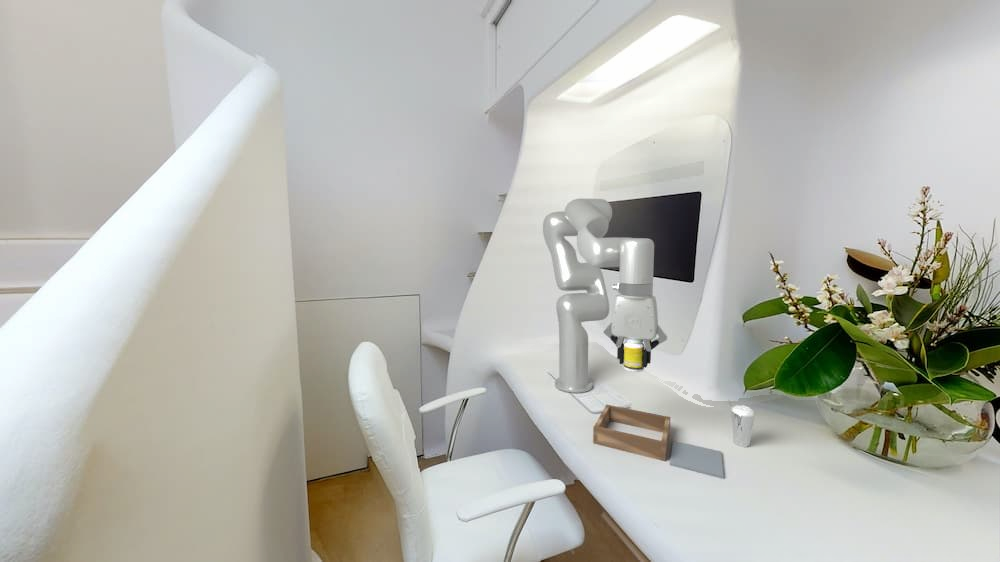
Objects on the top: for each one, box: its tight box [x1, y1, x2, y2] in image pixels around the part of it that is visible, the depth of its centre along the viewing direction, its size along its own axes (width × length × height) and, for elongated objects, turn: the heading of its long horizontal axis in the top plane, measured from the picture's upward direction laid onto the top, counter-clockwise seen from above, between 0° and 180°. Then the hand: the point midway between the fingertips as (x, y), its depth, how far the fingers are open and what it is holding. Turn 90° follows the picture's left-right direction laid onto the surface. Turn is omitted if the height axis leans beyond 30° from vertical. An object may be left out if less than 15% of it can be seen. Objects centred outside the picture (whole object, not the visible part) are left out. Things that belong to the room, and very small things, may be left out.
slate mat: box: [669, 440, 725, 479], centre depth 81 cm, size 10×10×1 cm
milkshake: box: [727, 399, 756, 448], centre depth 87 cm, size 5×5×10 cm
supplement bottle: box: [623, 338, 645, 373], centre depth 88 cm, size 5×5×8 cm
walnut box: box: [592, 404, 671, 462], centre depth 90 cm, size 14×16×4 cm
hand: (633, 363), depth 89 cm, fingers closed on supplement bottle, 4 cm apart
